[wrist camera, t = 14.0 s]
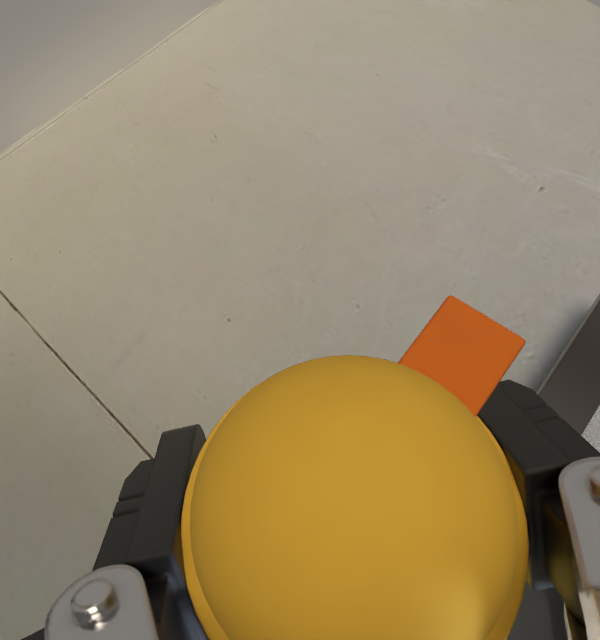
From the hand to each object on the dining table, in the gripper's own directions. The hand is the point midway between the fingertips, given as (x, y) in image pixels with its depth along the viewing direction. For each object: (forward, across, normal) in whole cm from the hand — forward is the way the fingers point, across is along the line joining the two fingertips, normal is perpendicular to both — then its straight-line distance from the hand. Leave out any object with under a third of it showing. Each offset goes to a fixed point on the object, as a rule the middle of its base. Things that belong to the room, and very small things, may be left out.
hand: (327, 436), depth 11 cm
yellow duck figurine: (+2, 0, +4) cm, 5 cm away
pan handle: (+13, -13, +8) cm, 20 cm away
